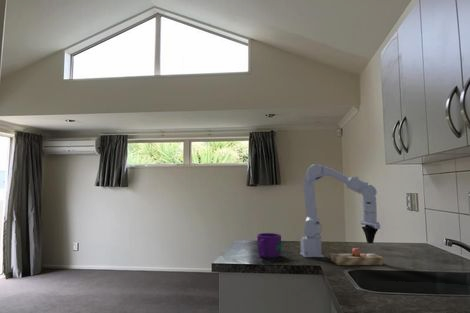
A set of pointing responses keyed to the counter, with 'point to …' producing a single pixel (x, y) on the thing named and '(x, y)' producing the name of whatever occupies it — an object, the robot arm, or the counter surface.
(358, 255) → the plug red
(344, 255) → the plug left
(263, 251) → the mug
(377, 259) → the socket block
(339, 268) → the counter surface
